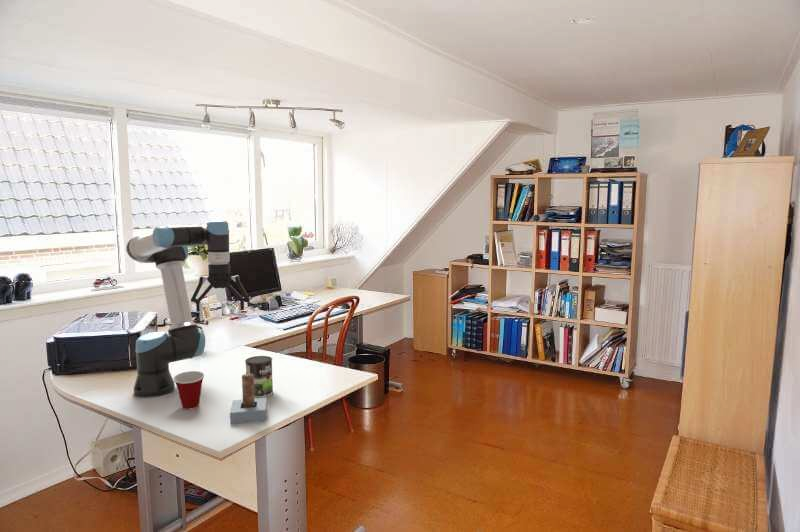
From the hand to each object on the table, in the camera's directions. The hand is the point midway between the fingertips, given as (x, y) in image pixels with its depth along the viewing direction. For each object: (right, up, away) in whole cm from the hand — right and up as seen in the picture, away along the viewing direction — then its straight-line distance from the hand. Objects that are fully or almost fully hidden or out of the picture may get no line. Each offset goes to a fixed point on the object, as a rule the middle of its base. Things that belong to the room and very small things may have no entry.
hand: (220, 319), depth 198 cm
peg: (+12, -34, -7) cm, 37 cm away
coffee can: (+11, -31, +15) cm, 36 cm away
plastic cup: (-12, -33, +2) cm, 35 cm away
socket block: (+12, -34, -7) cm, 37 cm away
